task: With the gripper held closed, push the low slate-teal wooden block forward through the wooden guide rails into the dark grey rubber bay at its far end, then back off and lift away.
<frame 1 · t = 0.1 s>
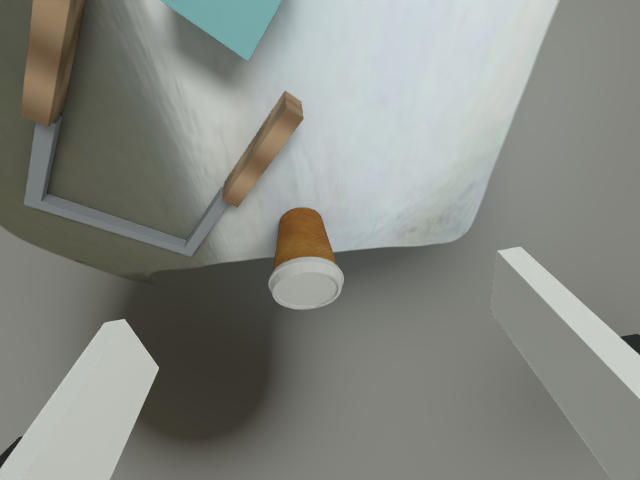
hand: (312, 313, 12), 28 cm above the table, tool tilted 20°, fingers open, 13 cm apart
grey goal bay: (136, 190, 40), on the table
wooden guide rails: (175, 99, 32), on the table
disposable coffee cup: (301, 221, 48), on the table
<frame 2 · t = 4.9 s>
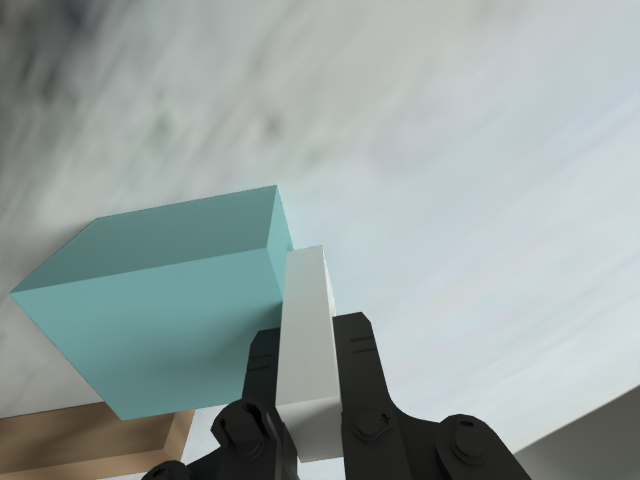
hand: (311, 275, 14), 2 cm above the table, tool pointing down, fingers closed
teal block: (213, 266, 16), on the table, touching gripper
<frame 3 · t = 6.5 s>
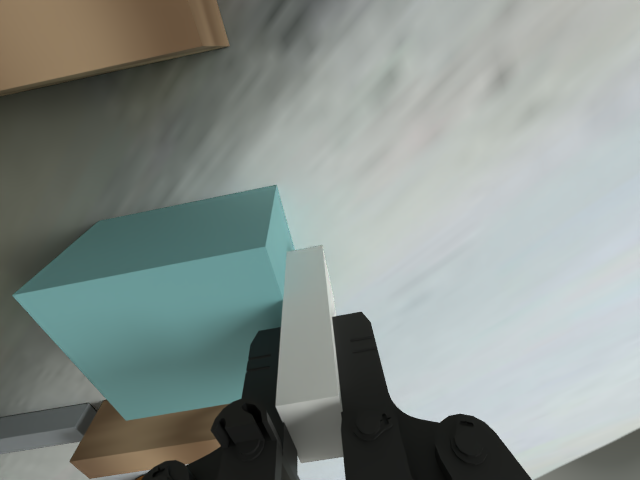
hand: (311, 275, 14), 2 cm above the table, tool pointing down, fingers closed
teal block: (215, 266, 16), on the table, touching gripper
wooden guide rails: (147, 277, 16), on the table
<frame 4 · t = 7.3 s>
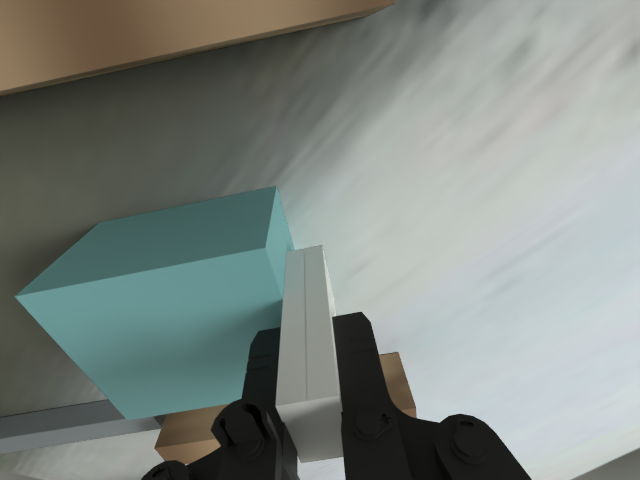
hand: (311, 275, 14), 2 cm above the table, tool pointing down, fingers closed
teal block: (216, 267, 16), on the table, touching gripper
wooden guide rails: (242, 259, 15), on the table
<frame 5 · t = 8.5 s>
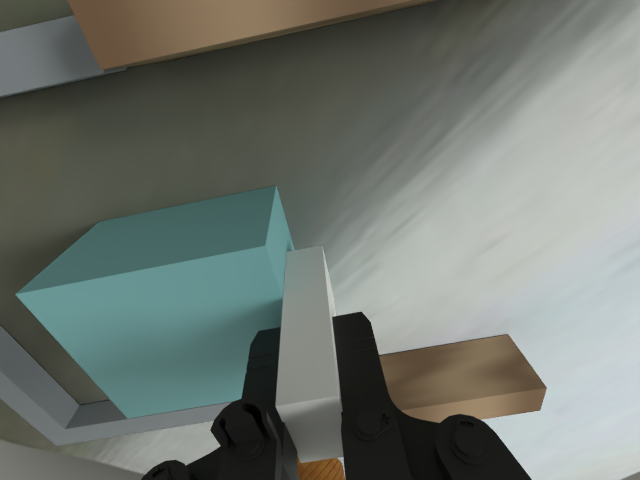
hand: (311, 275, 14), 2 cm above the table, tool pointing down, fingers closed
teal block: (216, 266, 16), on the table
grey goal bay: (96, 287, 16), on the table
wooden guide rails: (378, 234, 15), on the table
disposable coffee cup: (304, 467, 27), on the table
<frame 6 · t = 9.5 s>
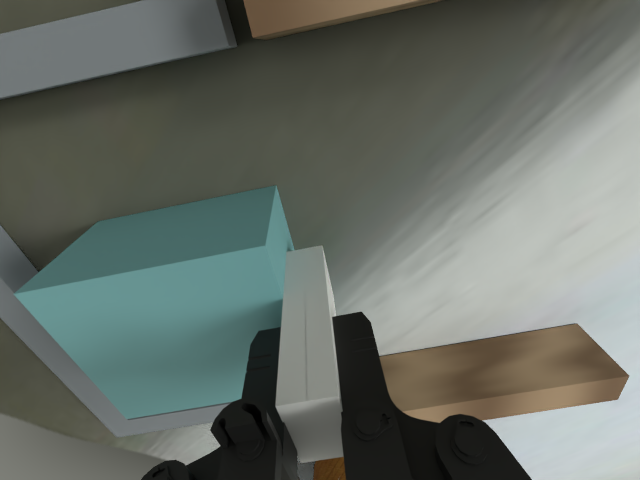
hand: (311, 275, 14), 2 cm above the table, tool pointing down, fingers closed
teal block: (215, 266, 16), on the table, touching gripper
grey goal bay: (173, 274, 16), on the table
wooden guide rails: (463, 219, 15), on the table
disposable coffee cup: (352, 461, 26), on the table
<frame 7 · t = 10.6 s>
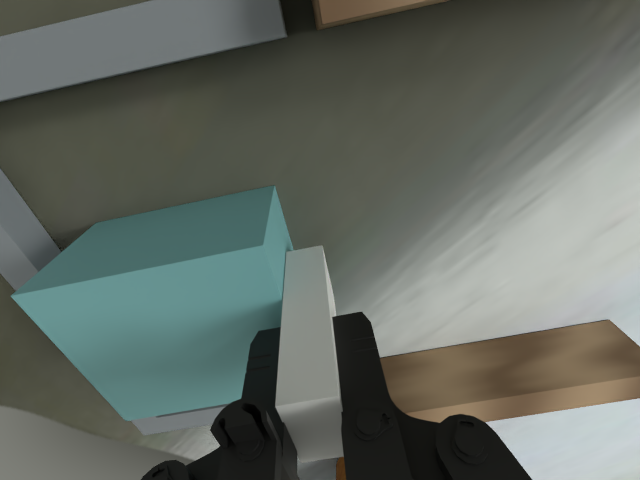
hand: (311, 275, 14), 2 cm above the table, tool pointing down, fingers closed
teal block: (214, 266, 16), on the table
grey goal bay: (208, 269, 16), on the table
wooden guide rails: (502, 214, 15), on the table
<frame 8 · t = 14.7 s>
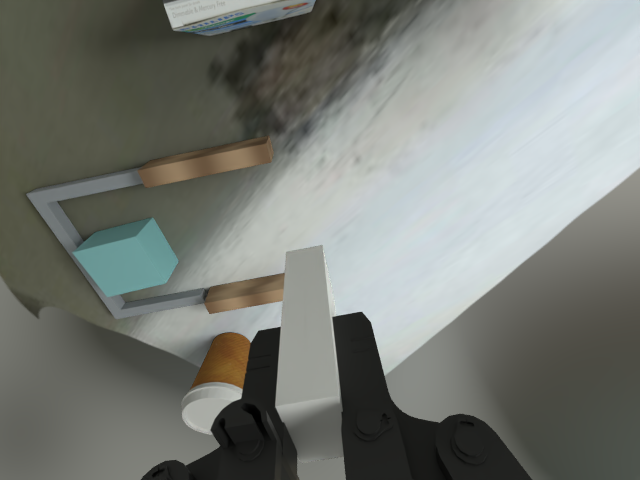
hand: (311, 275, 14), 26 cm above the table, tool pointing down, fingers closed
teal block: (138, 246, 43), on the table
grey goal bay: (136, 247, 43), on the table
wooden guide rails: (238, 227, 42), on the table
disposable coffee cup: (232, 344, 53), on the table
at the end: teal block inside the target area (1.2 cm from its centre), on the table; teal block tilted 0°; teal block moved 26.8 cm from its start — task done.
